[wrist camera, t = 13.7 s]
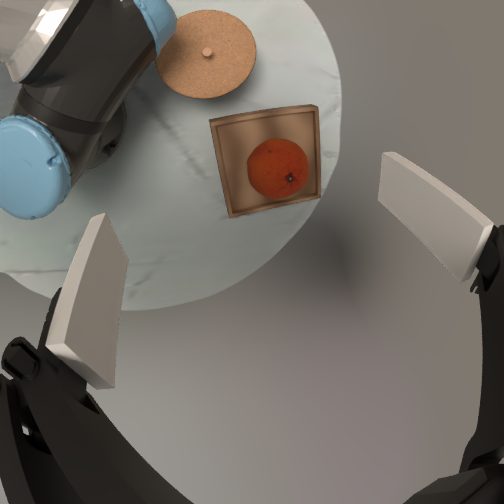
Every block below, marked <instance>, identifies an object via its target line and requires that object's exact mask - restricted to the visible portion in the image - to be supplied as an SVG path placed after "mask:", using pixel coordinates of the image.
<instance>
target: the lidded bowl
mask: <svg viewBox="0 0 504 504" xmlns="http://www.w3.org/2000/svg"><path fill="white" fill-rule="evenodd" d="M255 59H256V44H255V41H254V37H253V35H252V33H251V31H250V30H249V29H248V27H247V26H246V25H245V24H244V23H243V22H242V21H241V20H239V19H238V18H236V17H235V16H233V15H230V14H228V13H225V12H222V11H216V10H201V11H195V12H192V13H189V14H186V15H184V16H182V17H180V18H179V19H177V26H176V30H175V33H174V34H173V36H172V37H171V38H170V39H169V40H168V42H167V43H166V44H165V45H164V47H163V48H162V49H161V51H160V54H159V56H158V57H157V58H156V59H155V62H156V67H157V70H158V73H159V75H160V77H161V78H162V80H163V81H164V82H165V83H166V85H168V86H169V87H170V88H171V89H172V90H174V91H176V92H177V93H179V94H182V95H184V96H187V97H191V98H198V99H208V98H214V97H218V96H222V95H224V94H227V93H229V92H231V91H232V90H234V89H236V88H237V87H238V86H239V85H241V84H242V83H243V82H244V81H245V79H246V78H247V77H248V76H249V74H250V73H251V71H252V69H253V66H254V63H255Z"/></svg>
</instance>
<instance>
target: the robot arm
mask: <svg viewBox="0 0 504 504" xmlns="http://www.w3.org/2000/svg"><path fill="white" fill-rule="evenodd" d="M176 26H177V18H176V15H175V12H174V10H173V9H172V7H171V6H170V4H169V3H168V2H167V0H0V62H4V63H5V64H6V65H7V68H8V71H9V74H10V77H11V79H12V81H13V82H16V83H21V84H23V85H22V88H21V90H20V92H19V94H18V96H17V99H16V101H15V103H14V106H13V108H12V111H11V113H10V115H9V116H8V117H5V118H4V119H2V120H1V121H0V207H1V208H2V209H3V210H4V211H6V212H7V213H9V214H11V215H12V216H15V217H17V218H20V219H26V220H34V219H36V218H42V217H45V216H47V215H48V214H50V213H51V212H52V211H53V210H54V209H55V208H56V207H57V206H58V205H59V204H60V203H62V202H63V201H64V199H65V198H66V197H67V195H68V193H69V191H70V189H71V188H72V187H73V185H74V184H75V183H76V181H77V180H78V179H79V178H80V176H81V175H82V174H83V173H84V171H85V170H87V169H91V168H94V167H96V166H98V165H100V164H102V163H103V162H104V161H106V160H107V159H108V158H109V157H110V156H111V155H112V154H113V153H114V151H115V150H116V149H117V147H118V146H119V144H120V142H121V141H122V138H123V136H124V133H125V128H126V111H125V107H124V104H123V100H124V98H125V97H126V95H127V94H128V92H129V91H130V90H131V88H132V87H133V85H134V84H135V83H136V81H137V80H138V79H139V77H140V76H141V75H142V73H143V72H144V71H145V69H146V68H147V67H148V66H149V64H150V63H151V62H152V61H153V60H155V59H156V58H157V57H158V56H159V54H160V51H161V49H162V48H163V47H164V45H165V44H166V43H167V42H168V40H169V39H170V38H171V37H172V36H173V34H174V33H175V30H176ZM378 201H380V203H382V204H383V205H384V206H385V207H386V208H387V209H388V210H389V211H390V212H391V213H393V214H394V215H395V216H396V217H397V218H398V219H399V220H400V221H401V222H402V223H403V224H404V225H405V226H406V227H407V228H408V229H410V231H411V232H412V233H413V234H414V235H415V236H416V237H417V238H418V239H419V240H420V241H421V242H422V243H423V244H424V245H425V246H426V247H427V248H428V249H429V250H430V251H431V252H432V253H433V254H434V255H435V256H436V257H437V258H438V260H440V262H441V263H442V264H443V265H444V266H445V267H446V268H447V269H448V271H449V272H450V273H451V274H452V275H453V276H454V277H455V279H456V280H457V281H458V282H459V283H462V282H464V281H466V280H468V279H469V278H470V277H471V275H472V273H473V271H474V269H475V267H477V269H478V270H479V273H478V275H477V277H476V279H475V280H474V283H473V284H472V286H471V288H470V292H473V290H474V288H475V286H478V288H477V290H476V291H475V293H476V294H479V299H480V309H481V322H482V342H483V343H482V345H483V364H482V387H481V399H480V408H479V416H478V424H477V428H476V432H475V434H474V435H473V437H472V438H471V439H470V441H469V442H468V444H467V446H466V448H465V451H464V454H463V458H462V463H461V466H460V470H459V473H458V474H456V475H453V476H449V477H445V478H439V479H437V480H436V481H434V482H433V483H431V484H430V485H428V486H427V487H425V488H424V489H422V490H421V491H419V492H417V493H415V494H414V495H413V496H412V497H410V498H409V499H408V500H407V501H406V502H405V503H403V504H504V464H499V462H500V461H501V459H502V458H503V457H504V225H500V226H499V228H497V227H496V226H495V225H494V223H493V222H492V221H490V220H489V219H488V218H487V217H486V216H485V215H483V214H482V213H481V212H480V211H479V210H477V209H476V208H475V207H474V206H473V205H471V204H470V203H469V202H468V201H466V200H465V199H464V198H462V197H461V196H460V195H458V194H457V193H456V192H454V191H453V190H452V189H450V188H449V187H448V186H446V185H445V184H443V183H442V182H440V181H439V180H438V179H436V178H435V177H433V176H432V175H430V174H429V173H427V172H426V171H424V170H423V169H421V168H420V167H418V166H417V165H415V164H414V163H412V162H410V161H409V160H407V159H405V158H404V157H402V156H400V155H399V154H397V153H395V152H384V153H382V165H381V176H380V186H379V194H378ZM128 261H129V260H128V258H127V256H126V254H125V252H124V250H123V248H122V246H121V244H120V242H119V240H118V238H117V235H116V233H115V231H114V229H113V227H112V225H111V223H110V220H109V218H108V216H107V214H106V213H103V214H100V215H97V216H94V217H91V220H90V222H89V224H88V226H87V228H86V230H85V232H84V235H83V237H82V239H81V241H80V244H79V246H78V248H77V251H76V253H75V255H74V258H73V260H72V263H71V265H70V268H69V271H68V273H67V276H66V279H65V281H64V284H63V287H61V288H59V289H58V291H57V292H56V294H55V295H54V297H53V298H52V301H51V304H50V307H49V312H48V313H47V316H46V321H45V323H44V326H43V330H42V333H41V337H40V341H39V345H38V349H35V348H34V347H33V346H32V345H31V344H30V343H29V342H28V341H27V340H26V339H25V338H24V337H17V338H15V339H13V340H12V341H11V342H10V343H9V344H8V345H7V347H6V348H5V351H4V353H3V356H2V361H1V365H2V369H4V370H5V371H6V372H7V373H8V374H9V375H11V376H12V377H13V379H11V380H9V379H8V378H6V377H5V376H4V375H3V374H0V478H1V482H2V485H3V488H4V491H5V494H6V497H7V500H8V503H9V504H193V503H192V502H191V501H189V500H188V499H187V498H186V497H184V496H183V495H182V494H181V493H180V492H179V491H178V490H176V489H175V488H174V487H173V486H172V485H171V484H169V483H168V482H167V481H166V480H165V479H164V478H163V477H162V476H161V475H160V474H159V473H158V472H157V471H155V470H154V469H153V468H152V467H151V466H150V465H149V464H148V463H147V462H146V461H145V460H144V459H143V458H142V456H140V454H139V453H138V452H137V451H136V450H135V449H134V448H133V447H132V446H131V445H130V443H129V442H128V441H127V440H126V439H125V438H124V437H123V436H122V434H121V433H120V432H119V431H118V430H117V429H116V427H115V426H114V425H113V423H112V422H111V421H110V420H109V418H108V417H107V416H106V415H105V413H104V412H103V411H102V409H101V408H100V407H99V405H98V404H97V403H96V401H95V400H94V398H93V397H92V396H91V395H90V394H89V393H88V392H87V391H86V385H87V383H89V384H90V385H91V386H93V387H94V388H95V389H109V388H114V387H115V366H116V352H117V351H116V350H117V340H118V329H119V320H120V312H121V304H122V297H123V290H124V284H125V278H126V272H127V266H128ZM22 426H24V427H26V428H27V429H28V431H29V435H26V434H24V433H23V429H22Z"/></svg>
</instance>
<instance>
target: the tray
mask: <svg viewBox="0 0 504 504" xmlns="http://www.w3.org/2000/svg"><path fill="white" fill-rule="evenodd" d="M209 123H210V128H211V133H212V138H213V143H214V148H215V153H216V158H217V163H218V168H219V173H220V177H221V182H222V187H223V192H224V197H225V201H226V206H227V211H228V214H229V217H230V218H232V217H237V216H241V215H245V214H249V213H254V212H258V211H262V210H267V209H271V208H276V207H280V206H285V205H289V204H294V203H298V202H303V201H308V200H313V199H317V198H321V159H320V129H319V110H318V107H317V106H315V105H312V104H309V105H298V106H289V107H280V108H272V109H265V110H258V111H252V112H246V113H240V114H235V115H229V116H224V117H219V118H215V119H210V120H209ZM268 139H287V140H290V141H292V142H294V143H296V144H297V145H298V146H300V147H301V148H302V150H303V151H304V152H305V154H306V156H307V159H308V163H309V174H308V180H307V182H306V184H305V185H304V186H303V188H302V189H300V190H299V191H298V192H296V193H295V194H293V195H290V196H288V197H286V198H282V199H270V198H267V197H265V196H263V195H261V194H260V193H258V192H257V191H256V190H255V189H254V188H253V187H252V185H251V184H250V182H249V179H248V172H247V160H248V158H249V156H250V155H251V153H252V152H253V150H254V149H255V148H256V147H257V146H259V145H260V144H261V143H263V142H264V141H266V140H268Z"/></svg>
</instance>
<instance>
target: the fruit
mask: <svg viewBox="0 0 504 504" xmlns="http://www.w3.org/2000/svg"><path fill="white" fill-rule="evenodd" d="M247 172H248V179H249V182H250V184H251V185H252V187H253V188H254V189H255V190H256V191H257V192H258V193H260V194H261V195H263V196H265V197H267V198H270V199H282V198H286V197H288V196H290V195H293V194H295V193H296V192H298V191H299V190H300V189H302V188H303V186H304V185H305V184H306V182H307V180H308V174H309V163H308V159H307V156H306V154H305V152H304V151H303V150H302V148H301V147H300V146H298V145H297V144H296V143H294V142H292V141H290V140H287V139H268V140H266V141H264V142H263V143H261V144H260V145H259V146H257V147H256V148H255V149H254V150H253V152H252V153H251V155H250V156H249V158H248V160H247Z"/></svg>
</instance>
